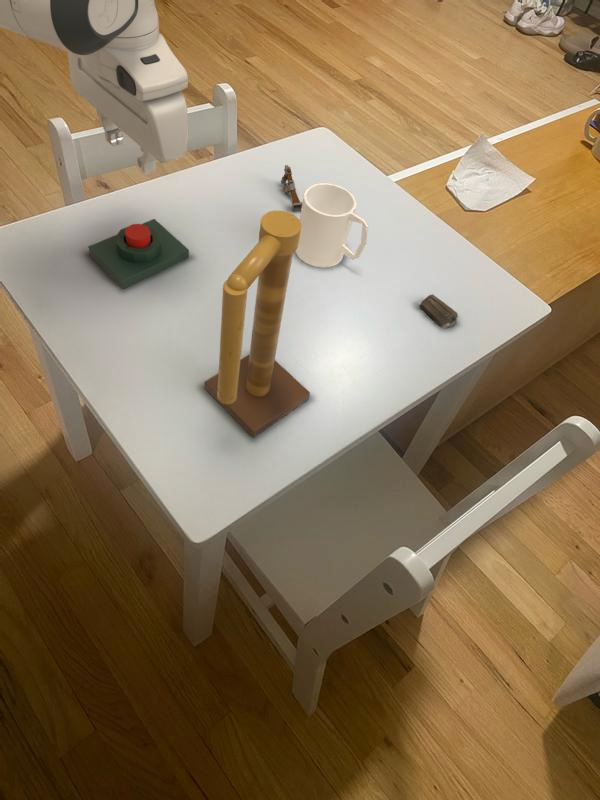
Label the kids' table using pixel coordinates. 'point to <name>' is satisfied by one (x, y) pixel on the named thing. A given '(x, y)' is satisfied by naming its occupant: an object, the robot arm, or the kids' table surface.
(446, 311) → the block
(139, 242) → the red button
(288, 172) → the wooden post with brackets
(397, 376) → the kids' table surface
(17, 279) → the kids' table surface
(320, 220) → the cup
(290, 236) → the bent wooden pipe
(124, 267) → the button block
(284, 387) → the paper towel holder
